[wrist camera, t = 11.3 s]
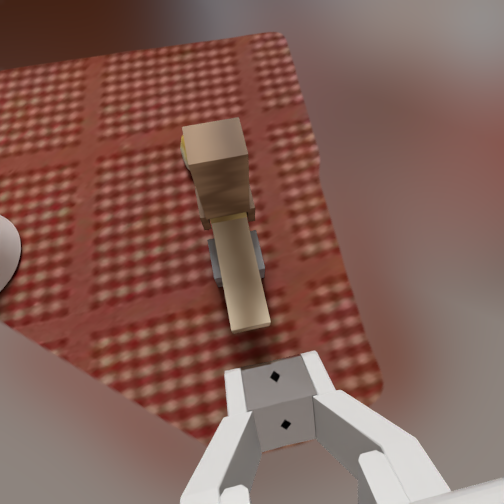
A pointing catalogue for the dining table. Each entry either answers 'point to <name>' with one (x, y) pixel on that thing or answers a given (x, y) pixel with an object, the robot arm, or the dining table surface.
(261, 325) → the seesaw
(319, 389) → the robot arm
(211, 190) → the plate
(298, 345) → the dining table surface
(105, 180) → the dining table surface
